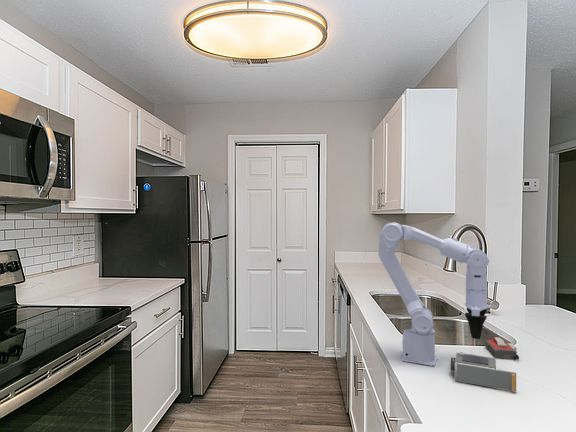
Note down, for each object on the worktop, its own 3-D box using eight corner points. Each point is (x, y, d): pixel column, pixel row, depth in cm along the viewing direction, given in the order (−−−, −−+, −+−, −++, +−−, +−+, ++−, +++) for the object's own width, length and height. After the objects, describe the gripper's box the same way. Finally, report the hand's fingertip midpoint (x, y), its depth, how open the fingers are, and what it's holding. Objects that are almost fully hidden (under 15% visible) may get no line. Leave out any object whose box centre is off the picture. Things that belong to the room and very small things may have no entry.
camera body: (449, 379, 107) (449, 359, 107) (452, 369, 114) (452, 350, 114) (496, 387, 102) (496, 366, 102) (495, 376, 109) (495, 356, 109)
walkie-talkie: (526, 363, 120) (505, 342, 139) (526, 348, 120) (505, 330, 139) (495, 361, 122) (478, 341, 141) (495, 346, 122) (478, 328, 141)
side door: (454, 381, 105) (454, 364, 105) (454, 379, 106) (454, 362, 106) (516, 392, 98) (516, 374, 98) (516, 390, 99) (516, 372, 99)
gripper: (491, 294, 108) (491, 344, 108) (491, 286, 121) (491, 330, 121) (463, 292, 111) (463, 340, 111) (466, 284, 124) (466, 327, 124)
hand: (476, 335), depth 116 cm, fingers open, 7 cm apart
